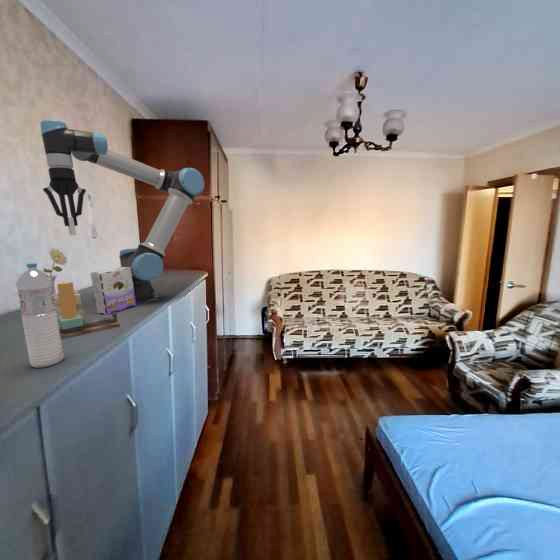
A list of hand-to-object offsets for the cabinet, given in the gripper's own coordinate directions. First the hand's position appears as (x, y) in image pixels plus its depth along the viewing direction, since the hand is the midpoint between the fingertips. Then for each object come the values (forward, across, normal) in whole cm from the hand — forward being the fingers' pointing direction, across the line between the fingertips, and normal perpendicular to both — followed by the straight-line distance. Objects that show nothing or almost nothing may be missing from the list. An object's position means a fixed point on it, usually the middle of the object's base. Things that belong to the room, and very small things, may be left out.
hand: (73, 235), depth 112 cm
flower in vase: (+30, +7, -19) cm, 36 cm away
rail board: (+30, +5, +22) cm, 38 cm away
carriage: (+27, +9, +22) cm, 36 cm away
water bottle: (+30, +18, +43) cm, 55 cm away
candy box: (+31, -10, +3) cm, 33 cm away
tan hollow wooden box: (+30, +7, +7) cm, 32 cm away
